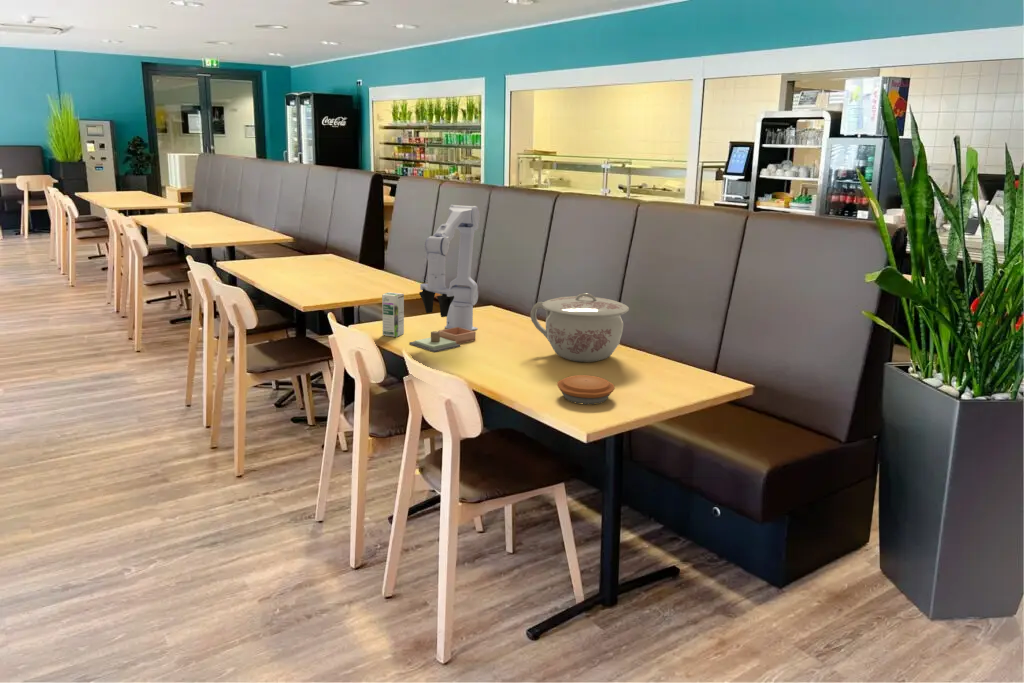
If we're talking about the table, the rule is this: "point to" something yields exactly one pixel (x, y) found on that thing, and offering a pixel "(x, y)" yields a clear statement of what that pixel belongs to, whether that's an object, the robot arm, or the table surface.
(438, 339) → the lid
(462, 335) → the dish
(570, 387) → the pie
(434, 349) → the mat
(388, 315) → the syrup box
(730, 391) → the table surface
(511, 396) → the table surface
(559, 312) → the chamber pot
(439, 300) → the robot arm
